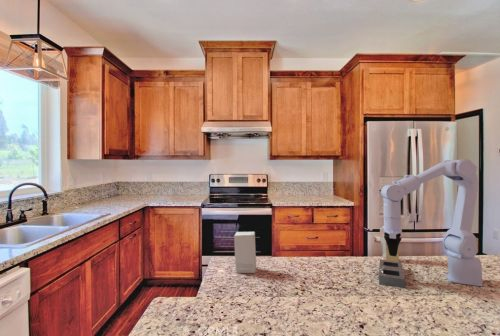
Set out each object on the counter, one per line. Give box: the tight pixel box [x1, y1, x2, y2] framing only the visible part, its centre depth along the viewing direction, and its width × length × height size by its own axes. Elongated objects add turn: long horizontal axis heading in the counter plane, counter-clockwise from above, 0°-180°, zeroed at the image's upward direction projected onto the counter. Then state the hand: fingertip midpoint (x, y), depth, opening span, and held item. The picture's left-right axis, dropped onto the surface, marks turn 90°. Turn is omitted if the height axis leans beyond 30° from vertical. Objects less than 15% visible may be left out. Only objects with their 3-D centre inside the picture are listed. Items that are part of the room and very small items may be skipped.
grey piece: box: [378, 258, 406, 289], centre depth 103 cm, size 8×20×3 cm, turn 153°
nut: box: [386, 242, 400, 262], centre depth 99 cm, size 4×4×6 cm
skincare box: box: [233, 231, 257, 274], centre depth 111 cm, size 8×7×16 cm
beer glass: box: [379, 225, 386, 260], centre depth 122 cm, size 7×7×15 cm
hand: (392, 254), depth 99 cm, fingers closed on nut, 4 cm apart
